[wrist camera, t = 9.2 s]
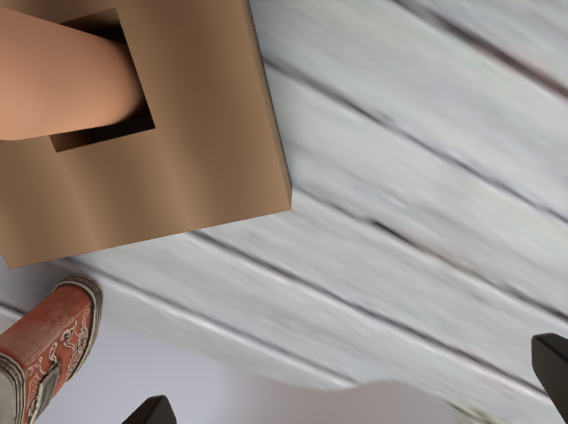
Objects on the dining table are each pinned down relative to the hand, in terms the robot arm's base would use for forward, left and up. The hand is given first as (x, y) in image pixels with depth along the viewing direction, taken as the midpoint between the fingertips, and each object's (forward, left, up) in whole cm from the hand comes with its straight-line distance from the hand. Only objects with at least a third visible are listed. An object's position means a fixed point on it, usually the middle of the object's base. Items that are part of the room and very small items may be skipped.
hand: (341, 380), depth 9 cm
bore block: (+8, -9, -12) cm, 17 cm away
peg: (+8, -9, -11) cm, 17 cm away
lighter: (+17, +4, -12) cm, 21 cm away
